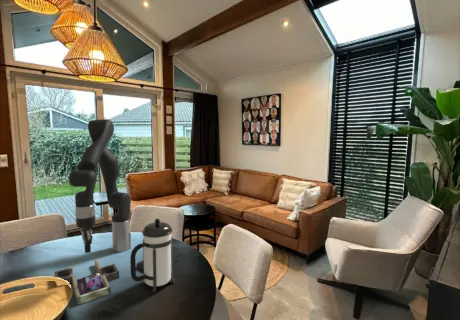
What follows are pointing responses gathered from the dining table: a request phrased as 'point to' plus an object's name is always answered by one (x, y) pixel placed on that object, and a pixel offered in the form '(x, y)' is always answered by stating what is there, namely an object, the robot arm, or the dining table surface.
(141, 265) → the dark slate chunk
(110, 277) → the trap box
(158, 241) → the coffee press
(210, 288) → the dining table surface
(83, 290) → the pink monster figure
